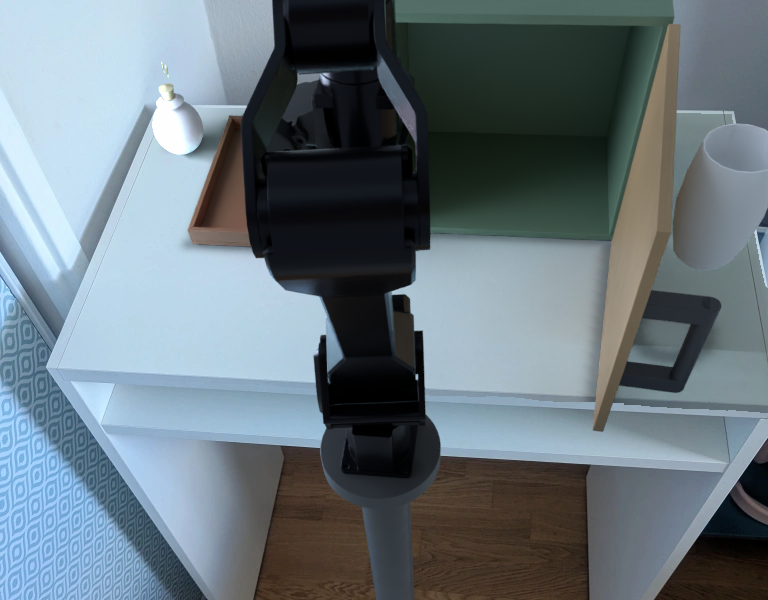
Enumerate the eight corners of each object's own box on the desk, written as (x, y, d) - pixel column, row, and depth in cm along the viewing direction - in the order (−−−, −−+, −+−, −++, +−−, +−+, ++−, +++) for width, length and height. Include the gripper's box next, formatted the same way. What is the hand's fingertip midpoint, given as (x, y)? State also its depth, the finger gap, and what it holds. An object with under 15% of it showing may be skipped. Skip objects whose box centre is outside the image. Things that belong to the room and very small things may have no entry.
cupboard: (615, 241, 84) (674, 16, 64) (386, 231, 87) (373, 12, 67) (611, 139, 93) (663, -88, 72) (404, 133, 96) (397, -87, 75)
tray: (338, 251, 86) (336, 236, 84) (191, 244, 88) (187, 230, 86) (364, 133, 96) (362, 118, 94) (232, 129, 98) (228, 115, 96)
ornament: (160, 167, 95) (133, 89, 86) (162, 131, 99) (136, 52, 90) (208, 161, 95) (186, 83, 86) (209, 125, 99) (187, 46, 90)
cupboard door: (674, 250, 83) (753, 28, 63) (666, 441, 71) (761, 241, 51) (610, 244, 84) (668, 23, 64) (592, 430, 72) (656, 231, 52)
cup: (640, 360, 76) (706, 180, 58) (628, 307, 79) (687, 121, 61) (714, 357, 76) (803, 175, 57) (698, 304, 79) (778, 116, 61)
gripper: (273, -10, 60) (301, 165, 73) (218, 140, 51) (263, 308, 64) (413, -9, 58) (416, 170, 72) (383, 145, 49) (393, 316, 63)
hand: (371, 236), depth 68 cm, fingers open, 9 cm apart
